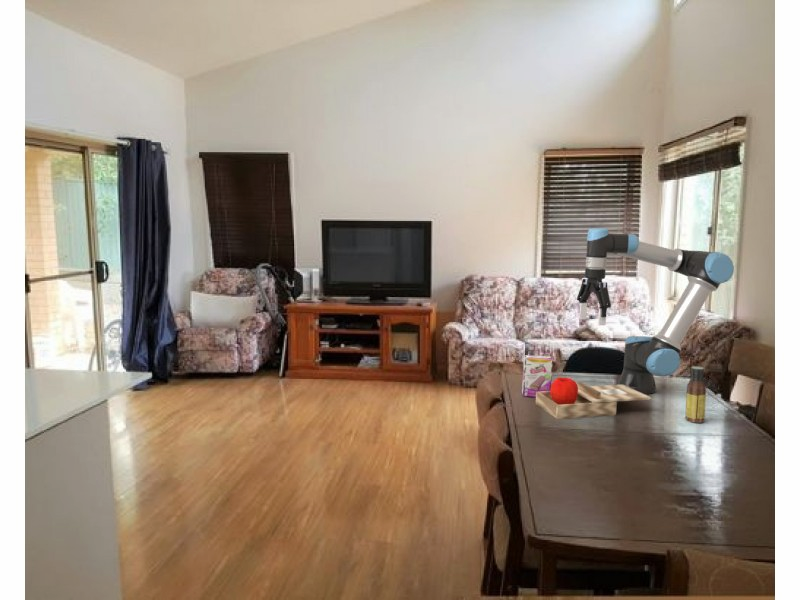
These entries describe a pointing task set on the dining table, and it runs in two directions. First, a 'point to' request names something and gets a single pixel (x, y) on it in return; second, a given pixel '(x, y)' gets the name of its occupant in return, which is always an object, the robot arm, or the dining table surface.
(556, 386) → the apple
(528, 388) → the candy bar box
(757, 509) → the dining table surface
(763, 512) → the dining table surface
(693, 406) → the sauce bottle
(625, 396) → the lid
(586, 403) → the wooden box
